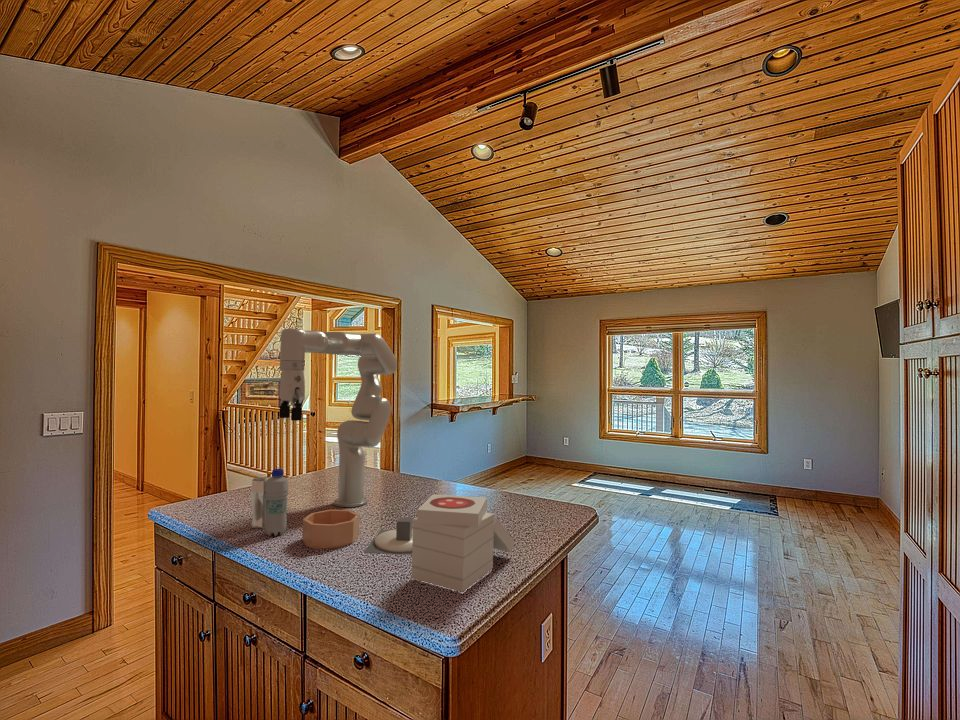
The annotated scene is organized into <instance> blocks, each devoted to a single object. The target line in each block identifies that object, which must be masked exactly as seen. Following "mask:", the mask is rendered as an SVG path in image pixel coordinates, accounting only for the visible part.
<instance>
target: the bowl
mask: <svg viewBox="0 0 960 720" xmlns="http://www.w3.org/2000/svg"><path fill="white" fill-rule="evenodd" d="M360 519H361V516H360V514H359V513H357V512H355V511H353V510H351V509H350V510H349V509H326V510H320V511H316V512H311V513H310V514H308V515H306V516H305V517H304V518H303V519H302V537H301V538H302V539H301V540H302V541H303V543H304V546H305V545H306V546H307V547H306V546H305V547H306V548H308V547H309V549H311V548H312V550H316V549H334V548H340V547H341V548H342V547H344V546H347V545H351V544H352V543H355V542H356V541H357V539H358V537H359V536H360V522H361V521H360Z"/></svg>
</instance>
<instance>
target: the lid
mask: <svg viewBox="0 0 960 720" xmlns="http://www.w3.org/2000/svg"><path fill="white" fill-rule="evenodd" d="M413 519H414V518H413V517H405V516H404V517H402V516H399V517H398V519H397V520H396V529H389V530H390V531H386V532H383V533H381V534H379V535H378V536H377V537H376V536H375V537H376V538H375V537H374V538H375V545H376V546H377V547H378V548H379V549H382V550H385V551H389V552H400V553H403V552H412V542H413Z"/></svg>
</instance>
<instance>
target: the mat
mask: <svg viewBox="0 0 960 720" xmlns="http://www.w3.org/2000/svg"><path fill="white" fill-rule="evenodd" d="M390 530H391V529H380V530H379V531H378V533H377V534H376V535H375V537H374V538H373V539H372V540H371V542H369V544H368V546H367V547H366V548H365V549H364V550H363V553H364V554H385V555H386V554H387V555H389V554H390V555H406V556H407V555H409V556H412V552H403V553H400V552H389V551H385V550H382V549H379V548H378V547H377V546H376V545H375V538H376V537H377V536H378V535H379V534H381V533H383V532H386V531H390Z"/></svg>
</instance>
